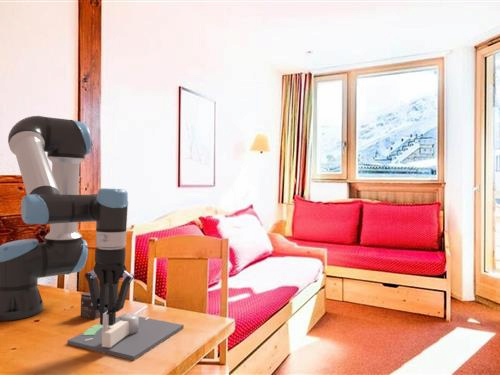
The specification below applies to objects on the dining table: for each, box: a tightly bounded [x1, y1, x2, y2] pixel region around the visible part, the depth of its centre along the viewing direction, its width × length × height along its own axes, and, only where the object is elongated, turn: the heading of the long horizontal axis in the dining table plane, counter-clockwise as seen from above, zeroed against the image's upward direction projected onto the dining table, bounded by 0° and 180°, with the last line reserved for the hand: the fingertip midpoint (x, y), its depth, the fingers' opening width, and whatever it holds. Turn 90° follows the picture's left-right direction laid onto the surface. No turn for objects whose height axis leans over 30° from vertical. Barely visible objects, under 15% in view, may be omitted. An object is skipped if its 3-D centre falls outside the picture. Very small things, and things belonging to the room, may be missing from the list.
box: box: [80, 291, 108, 320], centre depth 118 cm, size 6×6×7 cm
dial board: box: [67, 313, 185, 361], centre depth 103 cm, size 23×22×1 cm
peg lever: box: [102, 305, 149, 348], centre depth 102 cm, size 21×5×4 cm, turn 168°
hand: (107, 337), depth 95 cm, fingers closed
